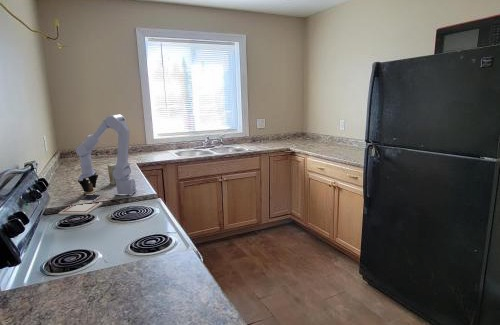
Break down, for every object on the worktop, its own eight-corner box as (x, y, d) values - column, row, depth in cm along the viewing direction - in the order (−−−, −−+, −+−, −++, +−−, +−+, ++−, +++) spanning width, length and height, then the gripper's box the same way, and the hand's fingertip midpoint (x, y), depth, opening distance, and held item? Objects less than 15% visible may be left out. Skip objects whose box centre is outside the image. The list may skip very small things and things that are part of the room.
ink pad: (101, 197, 169) (101, 194, 168) (93, 202, 161) (93, 199, 161) (87, 197, 169) (87, 194, 169) (79, 202, 161) (78, 199, 161)
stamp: (97, 192, 177) (95, 182, 176) (92, 195, 173) (90, 184, 171) (88, 192, 178) (87, 182, 176) (83, 195, 173) (82, 184, 171)
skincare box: (119, 181, 198) (117, 162, 195) (122, 182, 195) (120, 163, 192) (109, 183, 193) (107, 164, 190) (112, 184, 190) (110, 165, 188)
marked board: (102, 203, 159) (102, 202, 158) (87, 214, 145) (86, 212, 145) (76, 203, 159) (76, 201, 159) (58, 214, 146) (58, 212, 146)
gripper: (87, 163, 179) (90, 185, 182) (71, 169, 165) (75, 193, 168) (98, 163, 178) (101, 185, 181) (84, 169, 164) (87, 193, 167)
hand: (89, 189), depth 175 cm, fingers open, 7 cm apart
